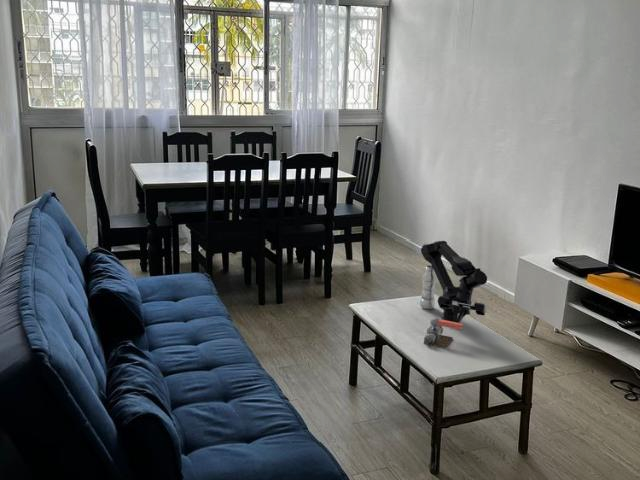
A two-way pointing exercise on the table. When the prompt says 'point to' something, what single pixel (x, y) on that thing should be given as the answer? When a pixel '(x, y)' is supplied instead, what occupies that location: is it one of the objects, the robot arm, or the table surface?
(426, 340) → the valve
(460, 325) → the lever
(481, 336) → the table surface
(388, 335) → the table surface
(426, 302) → the plastic bottle
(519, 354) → the table surface
